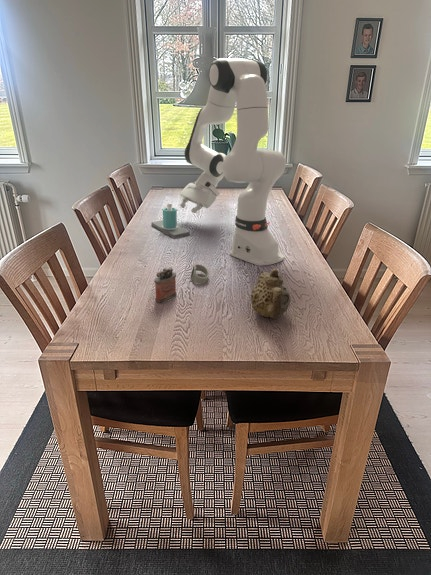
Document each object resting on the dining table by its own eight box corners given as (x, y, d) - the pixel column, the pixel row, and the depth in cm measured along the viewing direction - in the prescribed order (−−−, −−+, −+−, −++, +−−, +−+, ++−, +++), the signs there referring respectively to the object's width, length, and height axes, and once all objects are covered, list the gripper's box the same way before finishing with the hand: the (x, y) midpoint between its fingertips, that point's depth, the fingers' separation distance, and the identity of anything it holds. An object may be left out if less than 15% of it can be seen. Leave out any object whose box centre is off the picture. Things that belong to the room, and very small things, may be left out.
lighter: (171, 292, 133) (170, 263, 129) (178, 295, 131) (178, 266, 127) (152, 301, 128) (151, 271, 123) (160, 304, 126) (159, 275, 121)
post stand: (189, 235, 181) (189, 207, 175) (174, 238, 177) (173, 209, 171) (166, 222, 195) (165, 196, 189) (151, 225, 191) (150, 198, 185)
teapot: (245, 298, 131) (248, 254, 124) (280, 298, 132) (285, 254, 125) (255, 336, 112) (259, 286, 105) (297, 335, 113) (304, 286, 106)
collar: (178, 227, 185) (178, 209, 181) (167, 229, 182) (167, 211, 178) (172, 223, 189) (171, 206, 185) (161, 225, 186) (160, 208, 182)
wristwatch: (190, 273, 147) (190, 260, 144) (208, 273, 147) (208, 260, 145) (191, 285, 138) (191, 271, 136) (210, 284, 139) (210, 271, 137)
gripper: (188, 176, 193) (170, 200, 192) (214, 185, 179) (195, 211, 178) (196, 185, 198) (179, 208, 197) (222, 194, 183) (203, 219, 182)
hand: (187, 209), depth 187 cm, fingers open, 8 cm apart
